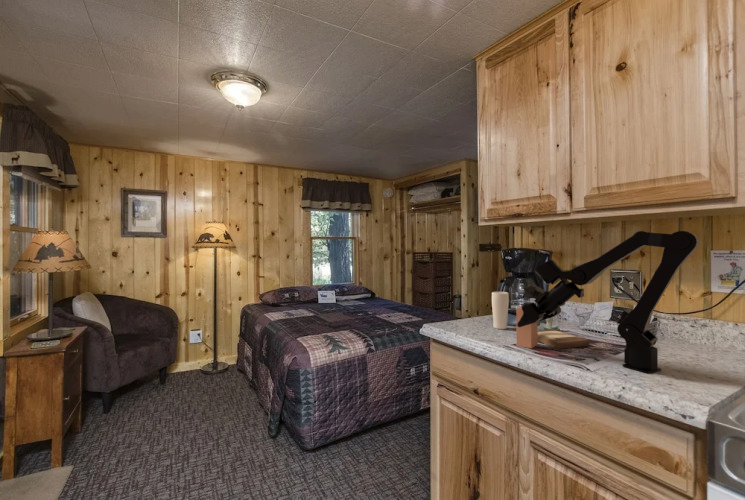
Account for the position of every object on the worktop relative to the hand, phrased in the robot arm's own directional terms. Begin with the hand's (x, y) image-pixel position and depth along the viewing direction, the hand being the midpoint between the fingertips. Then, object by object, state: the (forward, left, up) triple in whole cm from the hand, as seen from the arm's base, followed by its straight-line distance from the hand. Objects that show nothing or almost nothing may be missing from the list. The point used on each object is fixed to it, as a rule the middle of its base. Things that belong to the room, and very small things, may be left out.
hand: (524, 324), depth 120 cm
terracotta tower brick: (-1, 0, -7) cm, 7 cm away
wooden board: (-1, -14, -7) cm, 16 cm away
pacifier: (+13, -29, -7) cm, 33 cm away
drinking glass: (+23, -11, -7) cm, 27 cm away
